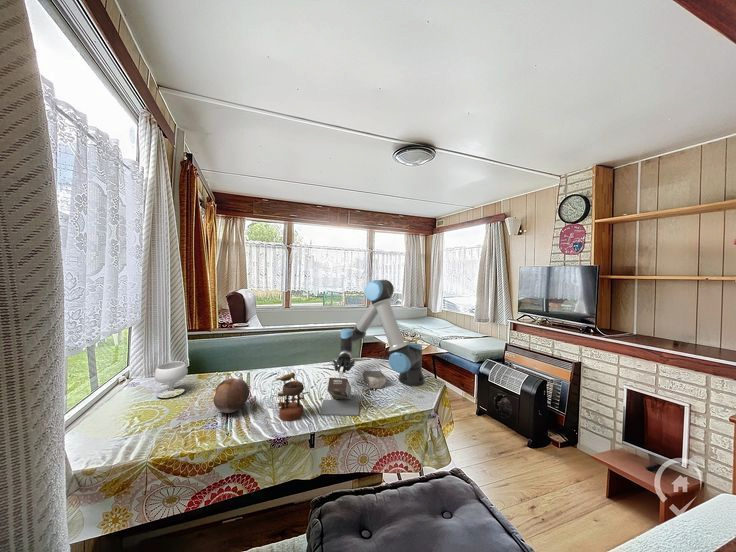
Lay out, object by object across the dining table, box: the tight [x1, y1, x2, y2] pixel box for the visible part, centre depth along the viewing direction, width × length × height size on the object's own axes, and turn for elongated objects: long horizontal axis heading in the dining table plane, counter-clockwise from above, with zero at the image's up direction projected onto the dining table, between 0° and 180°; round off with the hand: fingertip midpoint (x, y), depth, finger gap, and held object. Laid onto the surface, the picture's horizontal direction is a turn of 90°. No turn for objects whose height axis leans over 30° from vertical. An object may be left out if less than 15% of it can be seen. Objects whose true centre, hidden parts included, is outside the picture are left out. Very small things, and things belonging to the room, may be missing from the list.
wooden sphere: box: [212, 377, 250, 414], centre depth 128 cm, size 15×15×15 cm
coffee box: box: [327, 377, 352, 400], centre depth 137 cm, size 9×6×16 cm
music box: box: [275, 372, 310, 422], centre depth 126 cm, size 15×11×20 cm
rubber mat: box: [318, 399, 360, 417], centre depth 133 cm, size 18×14×1 cm
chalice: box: [153, 360, 189, 391], centre depth 142 cm, size 14×14×15 cm
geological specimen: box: [362, 370, 388, 390], centre depth 163 cm, size 11×6×15 cm
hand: (340, 373), depth 143 cm, fingers closed
